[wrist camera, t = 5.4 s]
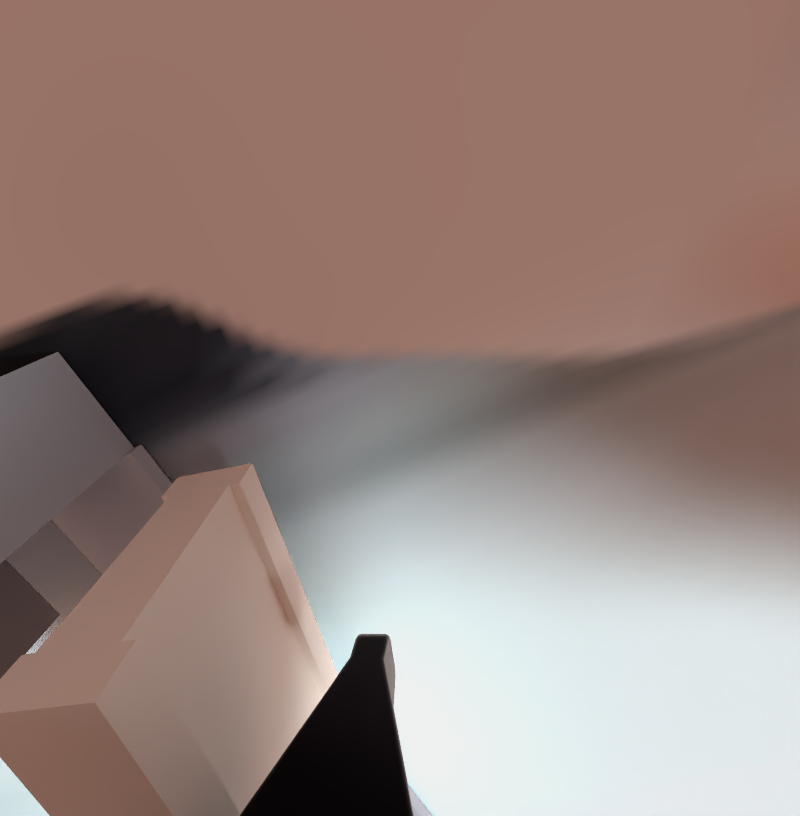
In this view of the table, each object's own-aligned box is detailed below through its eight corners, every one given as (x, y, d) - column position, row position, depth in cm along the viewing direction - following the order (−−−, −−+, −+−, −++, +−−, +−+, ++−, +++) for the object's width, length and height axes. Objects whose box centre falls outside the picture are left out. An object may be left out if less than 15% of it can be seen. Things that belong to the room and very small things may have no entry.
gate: (255, 458, 10) (94, 702, 5) (409, 843, 15) (398, 1143, 10) (182, 471, 10) (-34, 716, 6) (359, 846, 15) (325, 1141, 11)
